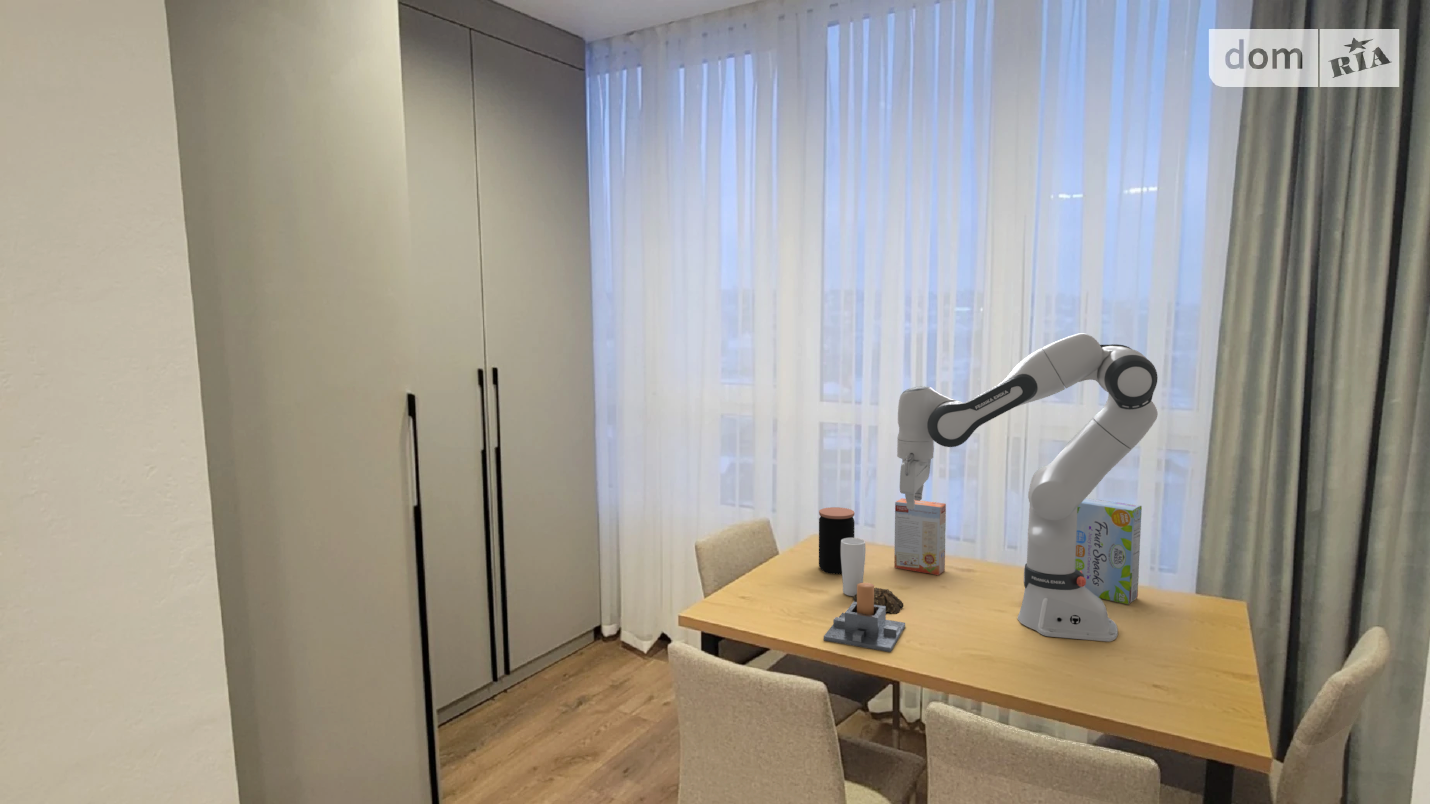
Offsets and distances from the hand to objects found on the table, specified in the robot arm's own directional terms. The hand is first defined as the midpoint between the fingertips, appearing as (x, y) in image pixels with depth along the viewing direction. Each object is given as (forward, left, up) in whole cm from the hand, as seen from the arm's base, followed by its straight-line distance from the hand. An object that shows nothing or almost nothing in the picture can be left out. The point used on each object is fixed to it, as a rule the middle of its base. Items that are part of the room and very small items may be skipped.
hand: (914, 504), depth 196 cm
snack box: (-42, -36, -29) cm, 62 cm away
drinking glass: (+18, -8, -29) cm, 35 cm away
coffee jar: (+28, -26, -29) cm, 48 cm away
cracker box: (+5, -36, -29) cm, 47 cm away
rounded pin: (+8, +17, -28) cm, 34 cm away
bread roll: (+9, -3, -30) cm, 31 cm away
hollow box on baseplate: (+8, +17, -29) cm, 35 cm away
